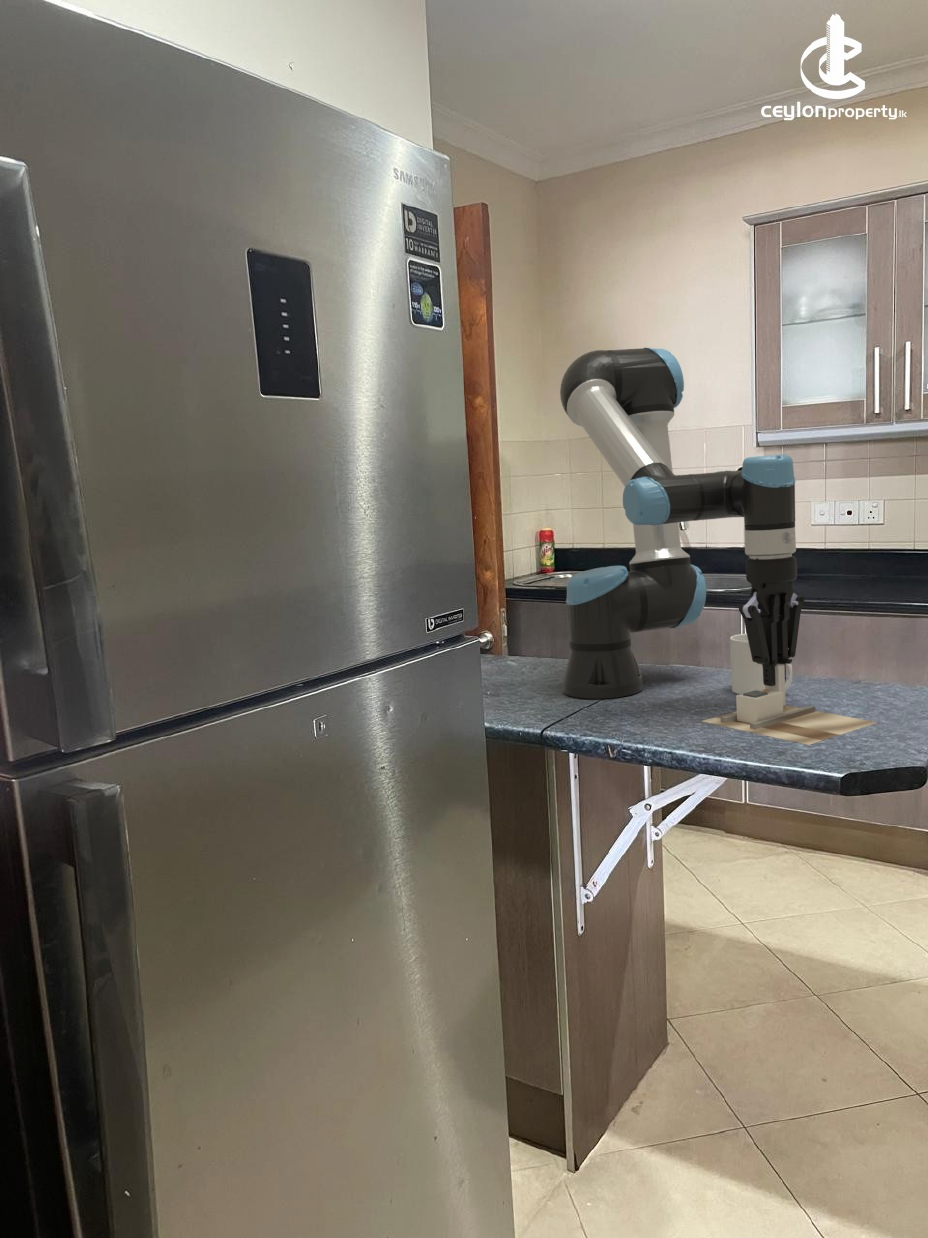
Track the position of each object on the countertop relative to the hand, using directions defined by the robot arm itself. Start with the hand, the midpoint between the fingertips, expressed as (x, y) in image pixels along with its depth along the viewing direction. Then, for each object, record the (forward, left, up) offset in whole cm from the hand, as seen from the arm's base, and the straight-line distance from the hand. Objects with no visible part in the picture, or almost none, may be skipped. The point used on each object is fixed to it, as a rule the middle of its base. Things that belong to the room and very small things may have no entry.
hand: (775, 704), depth 148 cm
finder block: (0, -4, -2) cm, 4 cm away
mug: (-12, +12, -3) cm, 17 cm away
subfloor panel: (+4, -2, -3) cm, 6 cm away
